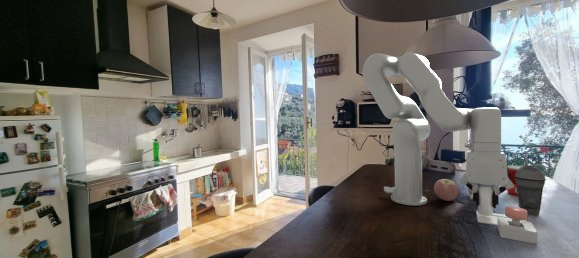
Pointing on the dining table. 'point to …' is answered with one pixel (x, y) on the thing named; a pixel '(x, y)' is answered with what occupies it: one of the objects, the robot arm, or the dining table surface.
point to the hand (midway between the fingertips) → (485, 205)
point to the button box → (517, 230)
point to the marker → (485, 200)
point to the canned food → (512, 179)
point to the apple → (446, 189)
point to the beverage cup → (530, 188)
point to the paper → (490, 218)
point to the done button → (516, 214)
